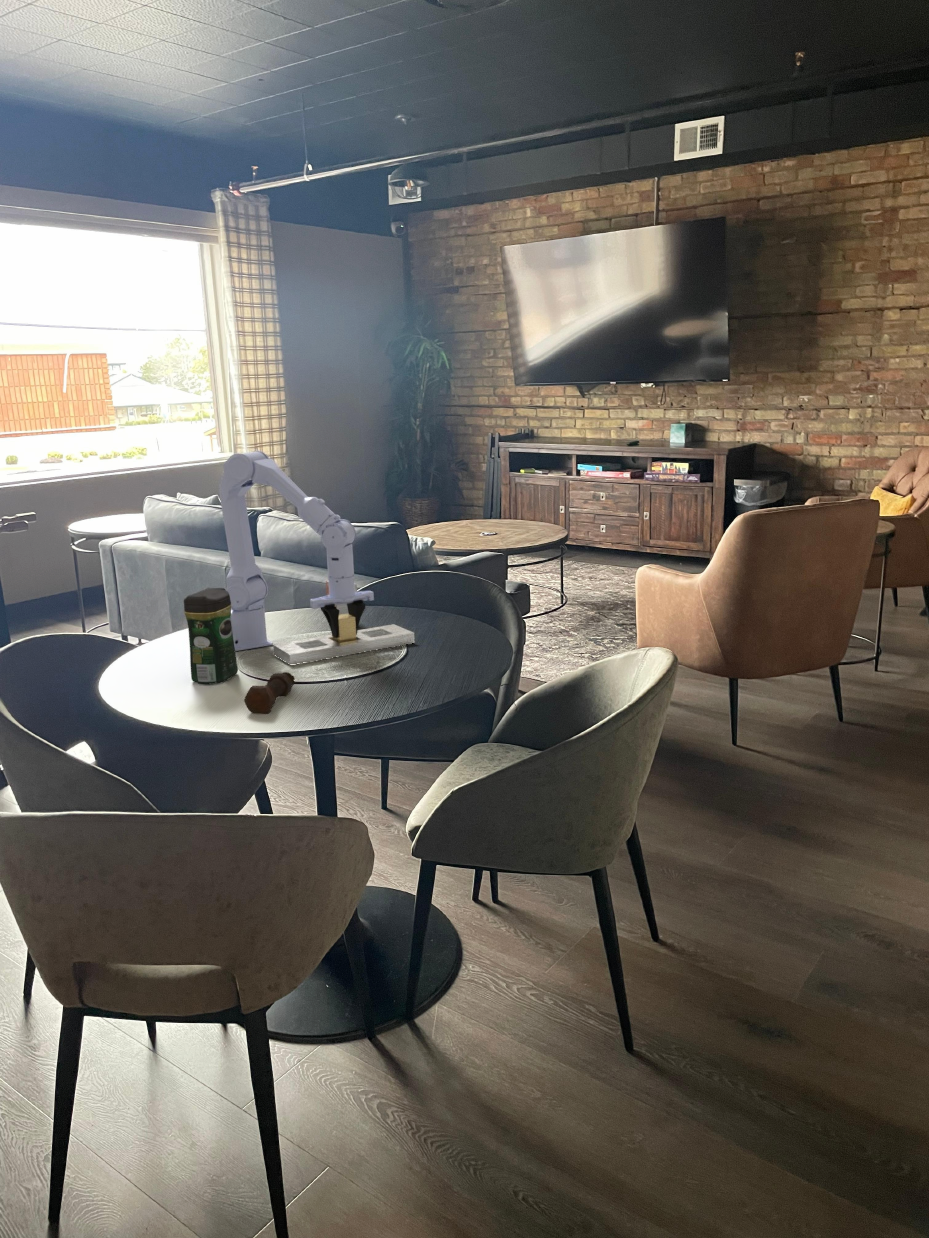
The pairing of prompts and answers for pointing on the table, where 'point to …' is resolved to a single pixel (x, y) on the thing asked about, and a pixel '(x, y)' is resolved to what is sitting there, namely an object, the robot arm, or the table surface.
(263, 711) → the bolt
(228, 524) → the robot arm
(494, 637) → the table surface
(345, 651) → the board
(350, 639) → the block
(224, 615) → the coffee jar
